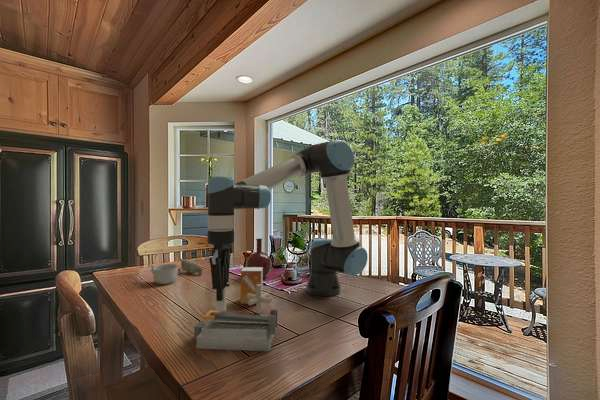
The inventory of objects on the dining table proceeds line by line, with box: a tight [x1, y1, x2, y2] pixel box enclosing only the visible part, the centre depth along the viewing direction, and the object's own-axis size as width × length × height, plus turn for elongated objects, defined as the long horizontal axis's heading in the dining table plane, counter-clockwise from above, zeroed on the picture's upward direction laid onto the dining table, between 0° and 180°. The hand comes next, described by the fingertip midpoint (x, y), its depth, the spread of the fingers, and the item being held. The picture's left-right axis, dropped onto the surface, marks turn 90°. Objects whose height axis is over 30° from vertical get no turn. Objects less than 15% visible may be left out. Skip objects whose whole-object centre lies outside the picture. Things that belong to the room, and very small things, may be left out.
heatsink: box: [193, 308, 279, 352], centre depth 84 cm, size 23×12×8 cm, turn 87°
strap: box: [203, 309, 268, 322], centre depth 84 cm, size 20×5×1 cm, turn 87°
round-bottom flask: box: [245, 238, 273, 278], centre depth 151 cm, size 13×13×20 cm
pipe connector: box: [247, 284, 272, 315], centre depth 104 cm, size 10×10×10 cm
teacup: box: [150, 263, 179, 286], centre depth 140 cm, size 14×11×8 cm
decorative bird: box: [177, 258, 203, 276], centre depth 157 cm, size 5×16×8 cm, turn 63°
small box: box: [240, 266, 264, 305], centre depth 115 cm, size 8×6×13 cm
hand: (220, 310), depth 85 cm, fingers closed
